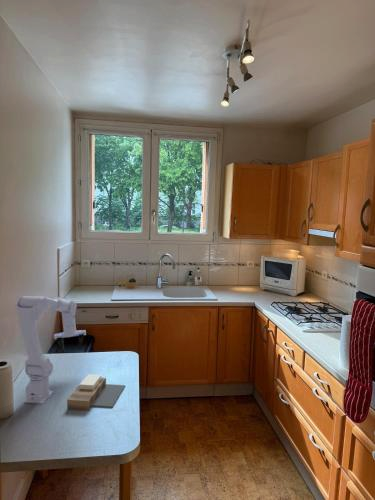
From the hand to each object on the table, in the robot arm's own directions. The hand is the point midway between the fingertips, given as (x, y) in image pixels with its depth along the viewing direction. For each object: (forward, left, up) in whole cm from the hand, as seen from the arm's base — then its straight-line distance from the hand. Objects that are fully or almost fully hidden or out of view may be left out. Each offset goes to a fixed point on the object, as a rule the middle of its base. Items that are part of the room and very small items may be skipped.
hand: (71, 350), depth 167 cm
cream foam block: (-19, -17, -6) cm, 26 cm away
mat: (-20, -26, -11) cm, 35 cm away
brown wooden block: (-22, -17, -11) cm, 30 cm away
